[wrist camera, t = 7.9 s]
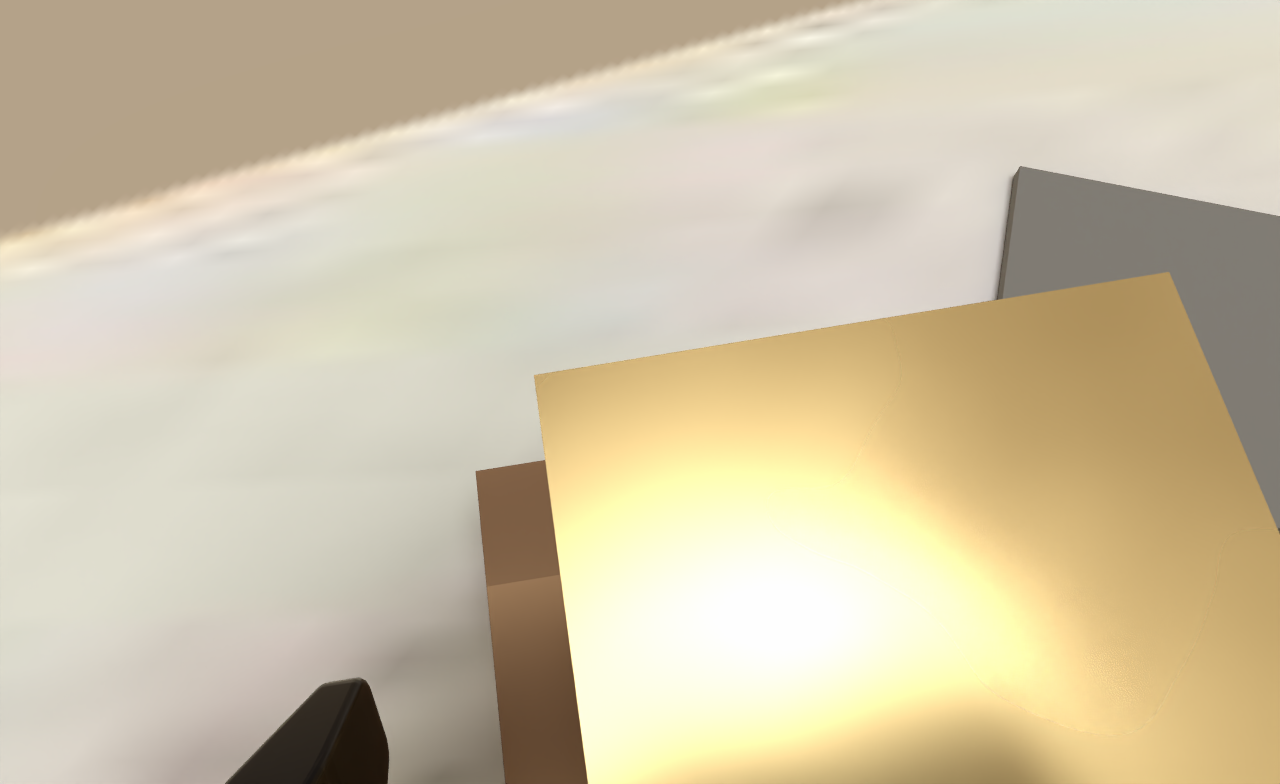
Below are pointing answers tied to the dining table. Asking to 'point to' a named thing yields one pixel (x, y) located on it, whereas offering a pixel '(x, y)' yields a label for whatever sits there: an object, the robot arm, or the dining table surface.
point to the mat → (1199, 266)
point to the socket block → (529, 628)
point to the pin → (920, 553)
